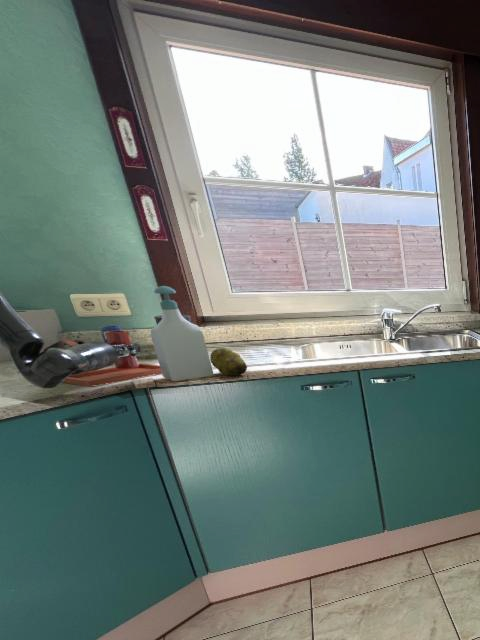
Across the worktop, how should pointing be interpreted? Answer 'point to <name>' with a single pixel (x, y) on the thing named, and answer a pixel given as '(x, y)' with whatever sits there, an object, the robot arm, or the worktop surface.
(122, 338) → the red cup
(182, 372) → the soap bottle
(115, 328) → the blue cup
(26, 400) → the worktop surface
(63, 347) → the black and orange arch
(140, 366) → the tray
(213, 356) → the green oval piece
